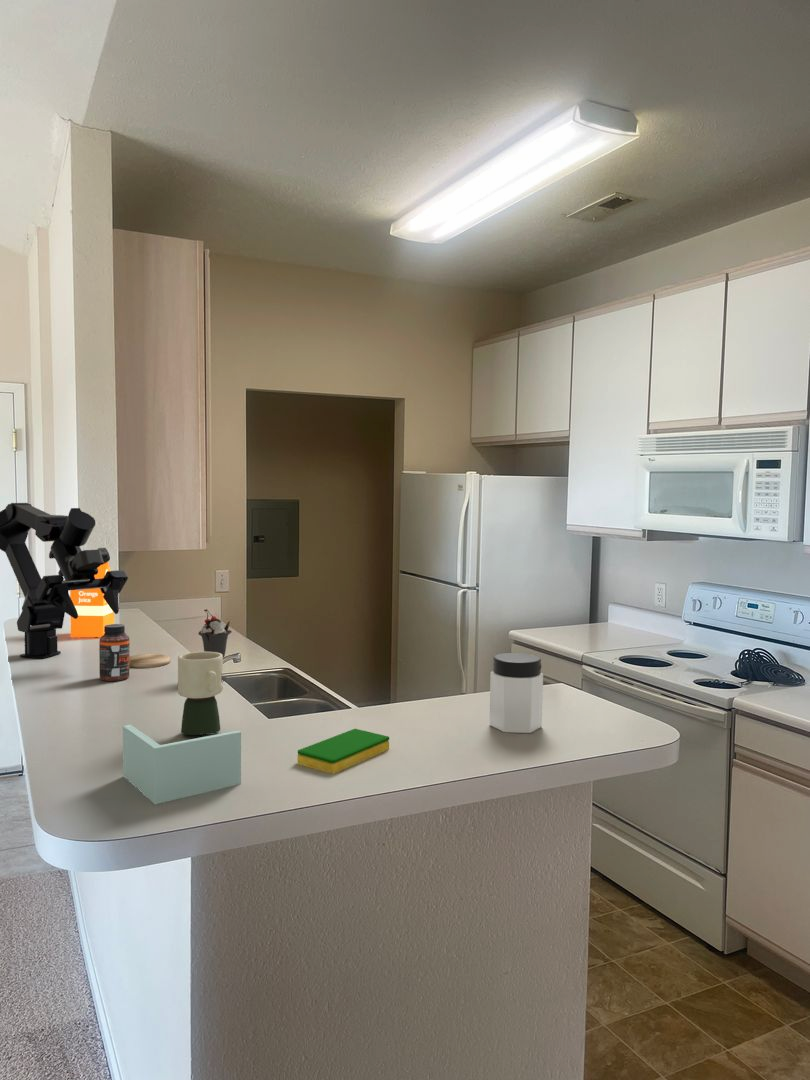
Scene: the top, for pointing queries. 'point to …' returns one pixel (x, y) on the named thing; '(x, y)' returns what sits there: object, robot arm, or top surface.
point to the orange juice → (91, 610)
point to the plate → (148, 660)
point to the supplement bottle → (114, 653)
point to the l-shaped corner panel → (181, 764)
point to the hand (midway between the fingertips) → (97, 615)
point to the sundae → (215, 636)
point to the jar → (516, 693)
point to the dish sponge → (343, 750)
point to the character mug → (200, 691)
